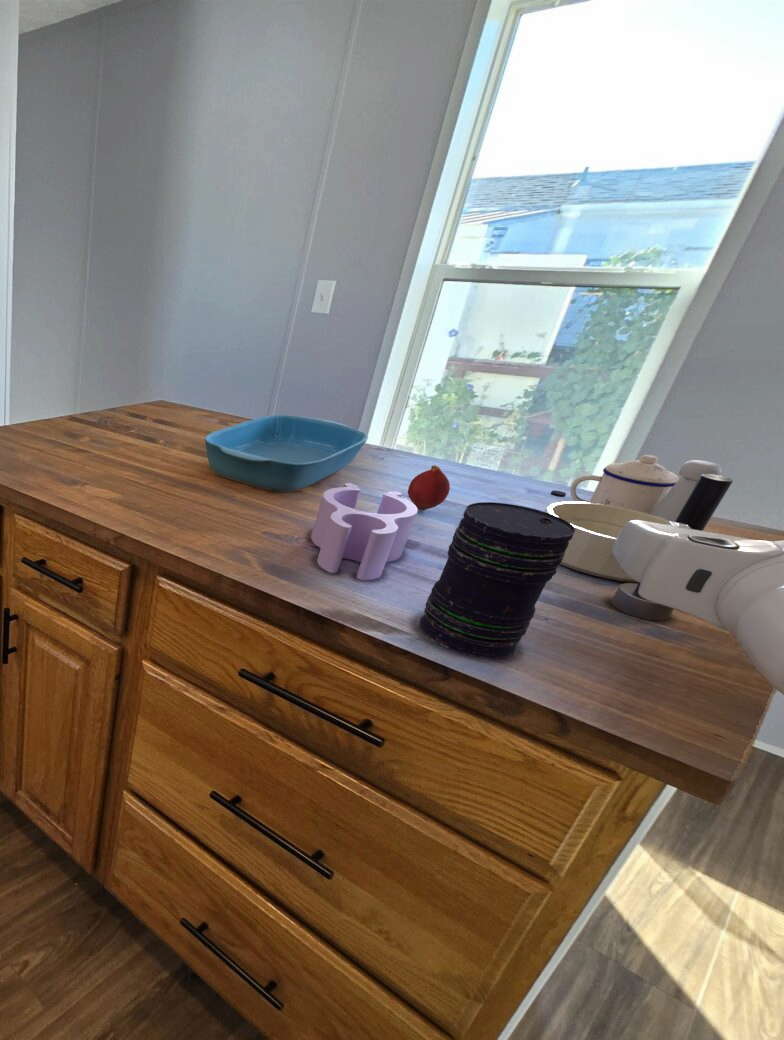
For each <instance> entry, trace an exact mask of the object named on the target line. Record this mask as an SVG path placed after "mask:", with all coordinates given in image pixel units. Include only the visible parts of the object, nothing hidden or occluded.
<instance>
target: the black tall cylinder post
mask: <svg viewBox="0 0 784 1040" xmlns="http://www.w3.org/2000/svg"><path fill="white" fill-rule="evenodd" d="M733 481H734V479H732V478H730V477H727V476H724V475H723V476H722V475H720V476H719V475H712V474H703V475H701V477H700V479H699V481H698V482H697V484H696V486H695V487H694V489H693V491H692V493H691V494H690V496H689V498H688V499H687V501H686V503H685V505H684V506H683V508H682V510H681V512H680V513H679V515H678V517H677V518H676V520H675V522H676V523H682V524H687V525H688V526H689V527H690V528H691V529H694V530H700V531H704V530H705V528H706V526H707V525H708V523H709V521H710V519H712V516H713V515H714V513H715V512H716V510H717V508H718V506H719V505H720V503H721V502H722V500H723V498H724V497H725V495H726V493H727V492H728V491H729V488H730V487H731V485H732V484H733ZM640 584H641V583H639V582H638V583H636V582H625V583H622V584H620V585H619V586H618V587H617V590H616V591H615V593H614V595H613V597H612V599H611V600H610V604H611V606H612V607H614V608H615V609H616V610H618V611H620V612H622V613H624V614H627V615H629V616H632V617H635V618H638V619H643V620H648V621H653V622H654V621H655V622H656V621H657V622H663V621H667V620H668V619H669V618H670V616H671V614H672V613H673V611H674V610H675V609H672V608H669V607H666V606H663V605H660V604H658V603H655V602H651V601H648V600H646V599H644V598H642V597H641V596H640V595H639V593H638V589H639V586H640Z"/></svg>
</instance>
